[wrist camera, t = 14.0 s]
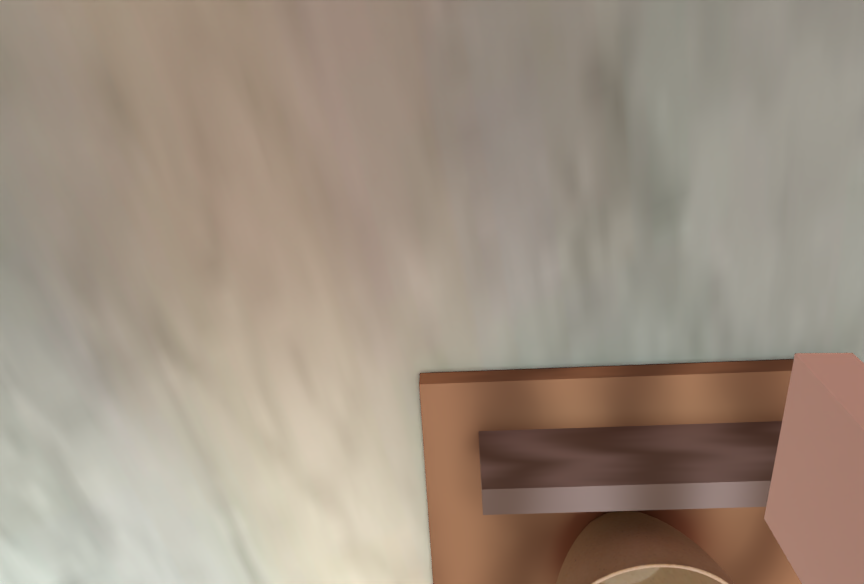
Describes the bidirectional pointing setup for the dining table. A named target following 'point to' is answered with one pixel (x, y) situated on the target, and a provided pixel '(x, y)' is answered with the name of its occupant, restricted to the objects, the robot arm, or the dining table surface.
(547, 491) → the cup cradle
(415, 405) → the dining table surface
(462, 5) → the dining table surface
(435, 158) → the dining table surface
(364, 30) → the dining table surface
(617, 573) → the flower pot
